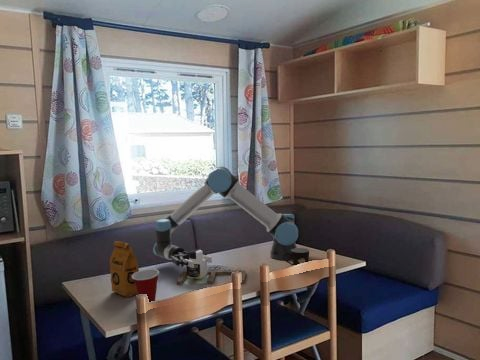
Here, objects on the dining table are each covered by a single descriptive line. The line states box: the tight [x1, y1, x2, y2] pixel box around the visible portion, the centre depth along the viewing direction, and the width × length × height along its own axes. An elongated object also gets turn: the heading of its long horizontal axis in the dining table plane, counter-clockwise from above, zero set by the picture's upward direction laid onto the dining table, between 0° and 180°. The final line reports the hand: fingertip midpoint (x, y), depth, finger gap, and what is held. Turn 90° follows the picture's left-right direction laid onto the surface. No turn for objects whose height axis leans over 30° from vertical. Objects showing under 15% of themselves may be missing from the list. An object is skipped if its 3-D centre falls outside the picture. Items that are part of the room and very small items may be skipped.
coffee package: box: [109, 240, 140, 298], centre depth 177 cm, size 10×12×22 cm
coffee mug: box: [283, 247, 310, 266], centre depth 199 cm, size 12×9×10 cm
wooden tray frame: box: [176, 269, 246, 286], centre depth 192 cm, size 30×14×2 cm, turn 87°
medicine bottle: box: [185, 248, 208, 279], centre depth 191 cm, size 7×7×12 cm
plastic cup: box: [132, 268, 160, 302], centre depth 166 cm, size 11×11×12 cm
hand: (202, 262), depth 188 cm, fingers closed on medicine bottle, 9 cm apart
